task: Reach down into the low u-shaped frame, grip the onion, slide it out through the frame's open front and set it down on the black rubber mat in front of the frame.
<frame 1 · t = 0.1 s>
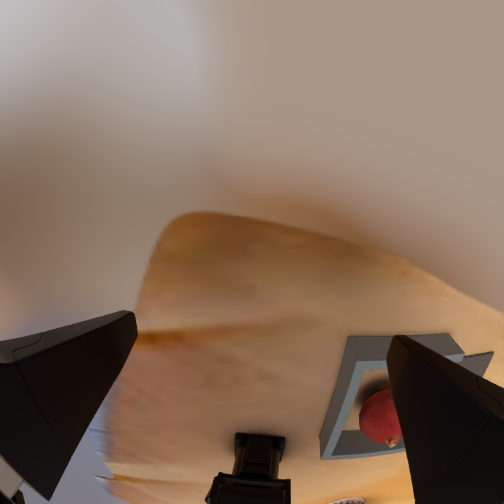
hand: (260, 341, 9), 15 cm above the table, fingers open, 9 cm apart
decorative candle: (344, 503, 35), on the table
u-shaped frame: (386, 393, 25), on the table
onion: (378, 392, 26), on the table
mat: (455, 386, 24), on the table
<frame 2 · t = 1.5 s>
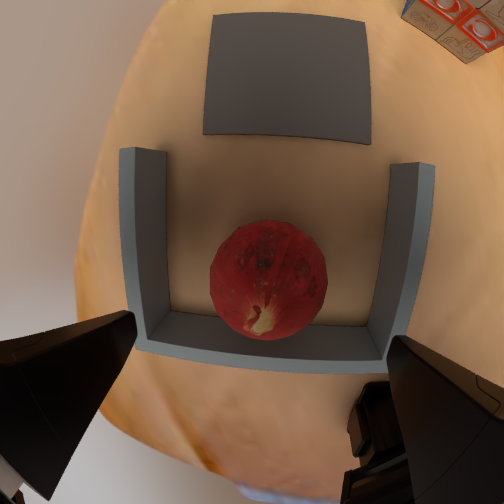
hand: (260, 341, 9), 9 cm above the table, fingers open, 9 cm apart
u-shaped frame: (273, 242, 17), on the table
onion: (272, 257, 17), on the table
mat: (289, 69, 14), on the table
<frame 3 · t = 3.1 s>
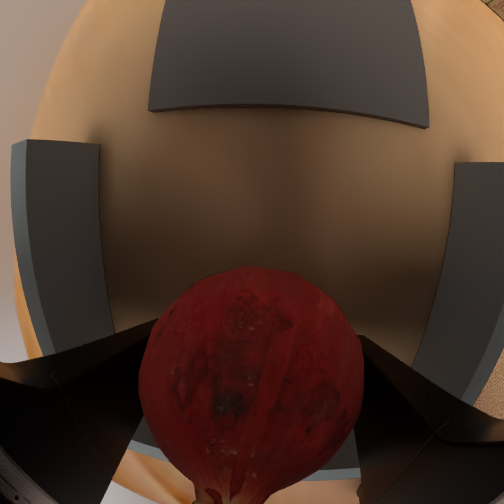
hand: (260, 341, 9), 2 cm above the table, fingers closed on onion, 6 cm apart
u-shaped frame: (266, 291, 10), on the table
onion: (264, 312, 10), on the table, touching gripper
mat: (291, 8, 7), on the table
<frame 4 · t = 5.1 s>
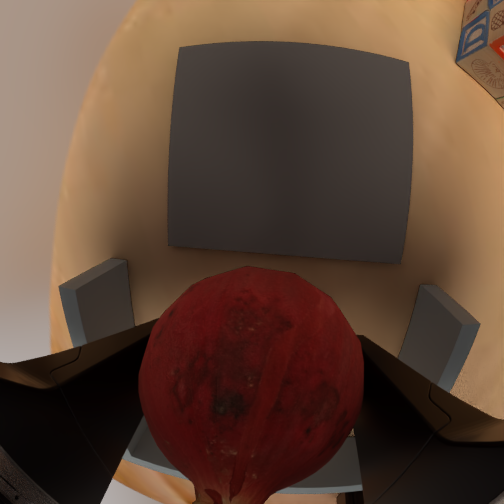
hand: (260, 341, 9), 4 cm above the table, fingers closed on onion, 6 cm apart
u-shaped frame: (263, 374, 13), on the table
onion: (264, 312, 10), point 2 cm above the table, touching gripper
stack of blocks: (498, 4, 5), on the table
mat: (293, 142, 10), on the table
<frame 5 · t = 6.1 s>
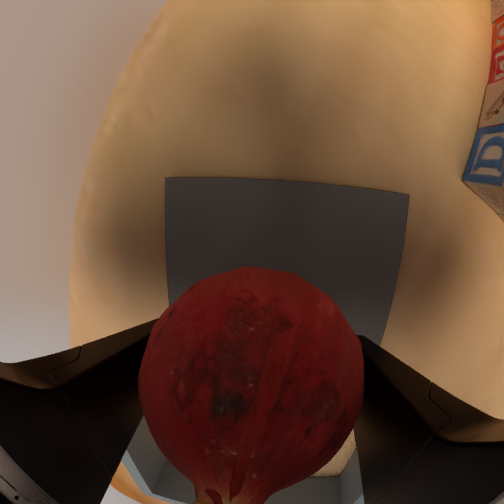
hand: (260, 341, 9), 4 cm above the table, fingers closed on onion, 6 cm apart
u-shaped frame: (256, 439, 15), on the table
onion: (264, 312, 10), point 1 cm above the table, touching gripper
mat: (281, 288, 12), on the table
when the fingers open (3 cm above the table, at t = 7.1 s): onion stays where it is, resting on mat.
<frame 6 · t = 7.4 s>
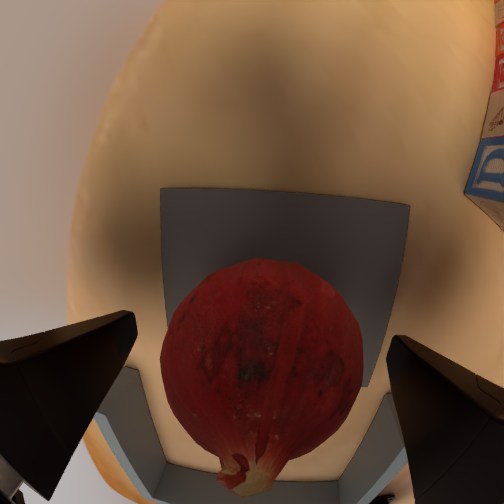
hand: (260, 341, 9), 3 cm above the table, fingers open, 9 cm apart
u-shaped frame: (254, 446, 15), on the table
onion: (268, 304, 11), resting on mat
mat: (278, 300, 12), on the table
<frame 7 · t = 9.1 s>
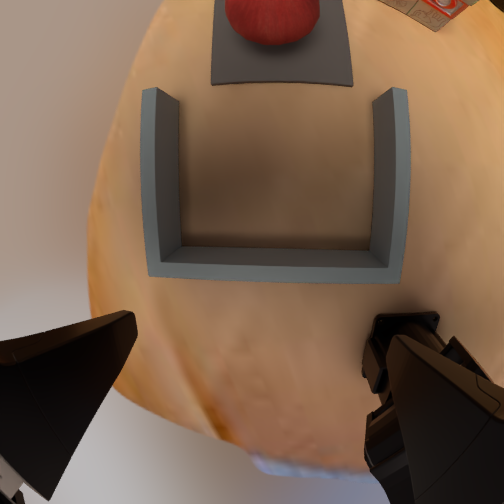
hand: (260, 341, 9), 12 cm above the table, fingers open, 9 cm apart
u-shaped frame: (276, 170, 18), on the table
onion: (274, 32, 15), resting on mat
mat: (280, 32, 15), on the table
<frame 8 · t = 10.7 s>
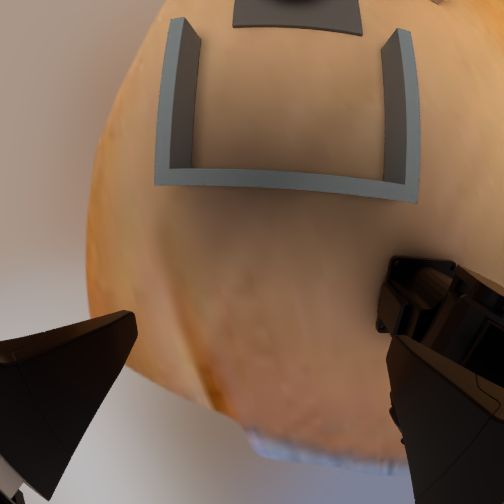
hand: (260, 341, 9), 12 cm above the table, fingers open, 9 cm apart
u-shaped frame: (290, 98, 17), on the table
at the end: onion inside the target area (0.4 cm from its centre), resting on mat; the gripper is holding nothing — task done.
